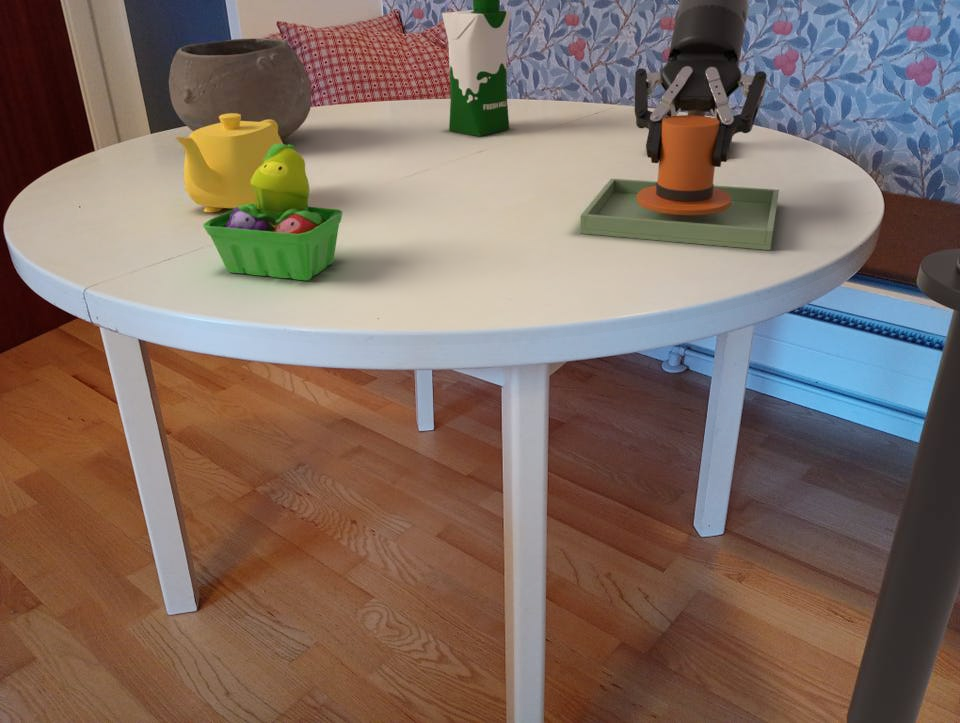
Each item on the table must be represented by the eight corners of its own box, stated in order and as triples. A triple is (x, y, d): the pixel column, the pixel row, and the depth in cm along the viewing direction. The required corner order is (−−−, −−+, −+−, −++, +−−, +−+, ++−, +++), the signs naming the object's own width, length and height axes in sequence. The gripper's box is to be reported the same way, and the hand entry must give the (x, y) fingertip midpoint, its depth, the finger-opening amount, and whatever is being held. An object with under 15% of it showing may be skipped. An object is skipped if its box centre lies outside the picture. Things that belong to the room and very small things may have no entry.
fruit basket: (207, 276, 78) (185, 157, 73) (258, 246, 86) (241, 136, 81) (312, 288, 75) (297, 164, 70) (356, 256, 82) (345, 142, 77)
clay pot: (319, 153, 122) (307, 46, 115) (173, 164, 119) (151, 54, 112) (314, 126, 141) (303, 32, 134) (187, 135, 137) (169, 38, 130)
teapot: (233, 234, 89) (216, 134, 84) (152, 225, 93) (131, 129, 88) (319, 190, 104) (309, 103, 99) (247, 184, 108) (233, 99, 103)
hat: (691, 184, 95) (698, 108, 91) (751, 206, 87) (762, 124, 83) (618, 196, 91) (623, 117, 87) (673, 221, 83) (681, 135, 79)
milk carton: (480, 138, 129) (476, -1, 120) (440, 131, 134) (434, -2, 125) (517, 129, 134) (517, -4, 125) (477, 122, 140) (474, -6, 131)
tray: (776, 206, 93) (779, 189, 92) (770, 250, 81) (773, 231, 80) (610, 194, 99) (610, 178, 98) (579, 233, 87) (580, 215, 86)
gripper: (776, 50, 91) (755, 184, 87) (646, 48, 96) (620, 175, 91) (781, 2, 84) (759, 145, 80) (641, 2, 89) (612, 137, 84)
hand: (685, 160), depth 86 cm, fingers closed on hat, 5 cm apart
